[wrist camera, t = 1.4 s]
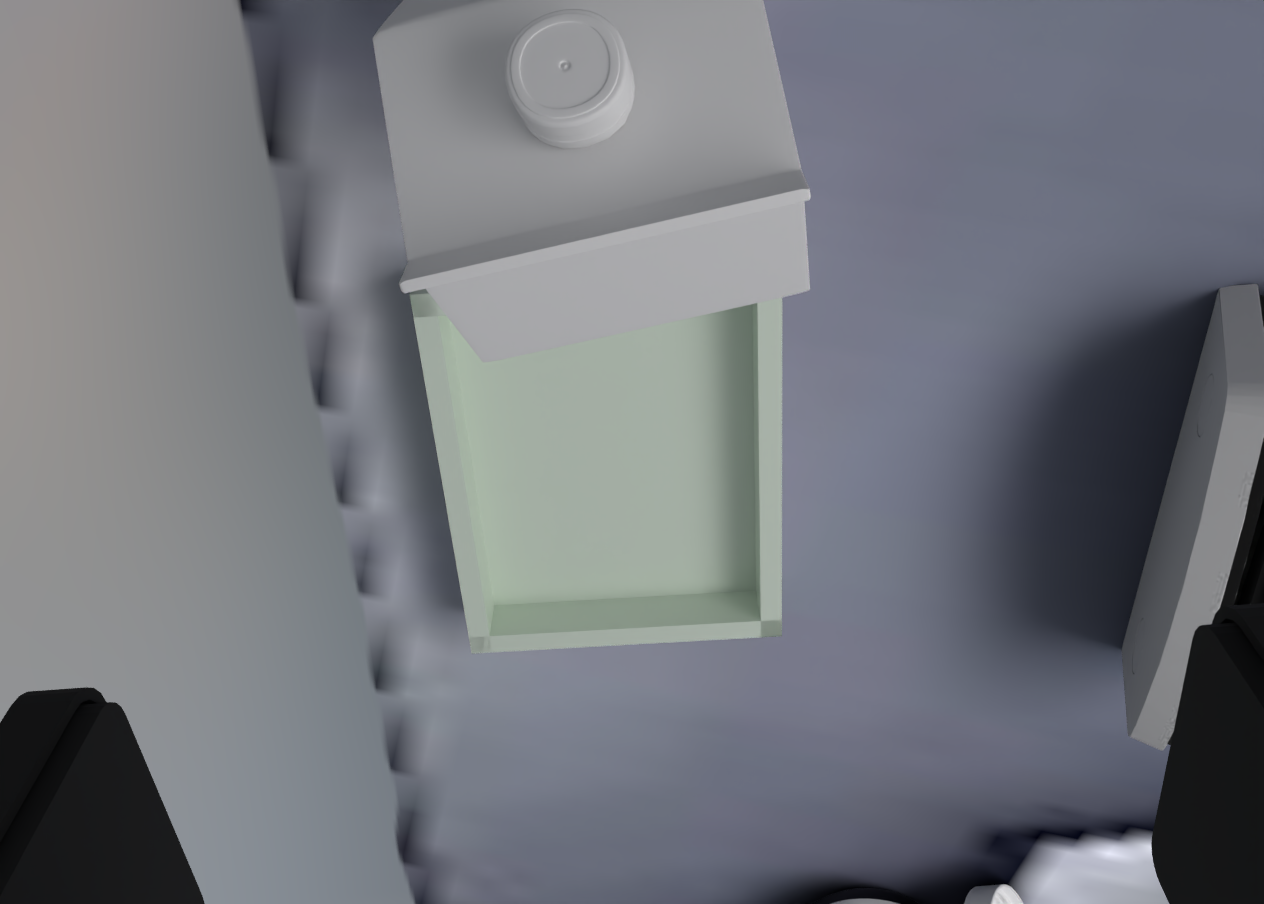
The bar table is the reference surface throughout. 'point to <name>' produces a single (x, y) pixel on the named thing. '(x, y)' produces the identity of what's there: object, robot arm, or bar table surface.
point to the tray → (613, 481)
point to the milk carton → (589, 164)
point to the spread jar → (980, 900)
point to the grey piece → (1202, 518)
